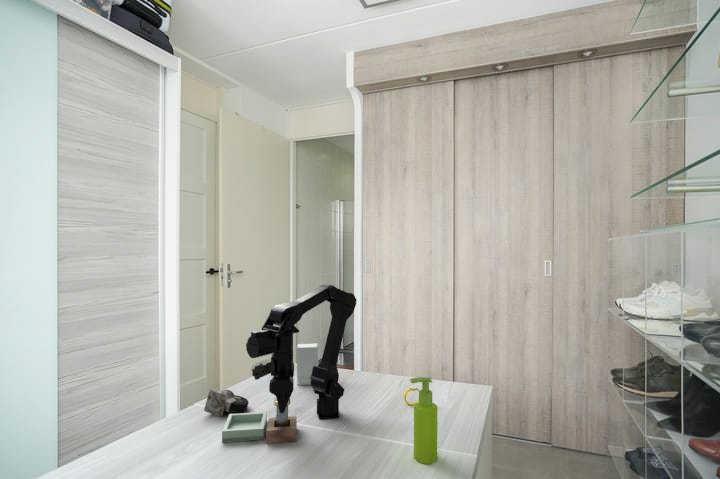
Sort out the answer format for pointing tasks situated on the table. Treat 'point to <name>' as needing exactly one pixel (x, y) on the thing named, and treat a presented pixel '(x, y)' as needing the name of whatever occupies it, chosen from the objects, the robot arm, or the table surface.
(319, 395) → the robot arm
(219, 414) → the caster wheel
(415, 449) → the soap dispenser
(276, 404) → the pin
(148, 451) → the table surface
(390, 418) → the table surface
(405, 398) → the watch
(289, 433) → the socket block
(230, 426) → the tray
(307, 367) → the skincare box
